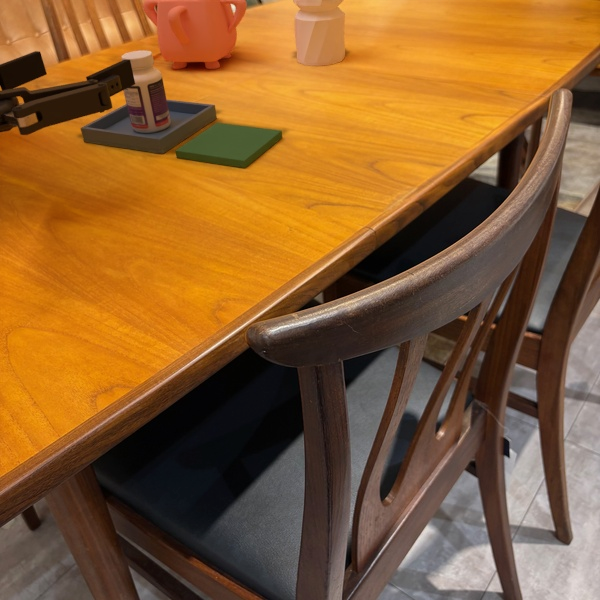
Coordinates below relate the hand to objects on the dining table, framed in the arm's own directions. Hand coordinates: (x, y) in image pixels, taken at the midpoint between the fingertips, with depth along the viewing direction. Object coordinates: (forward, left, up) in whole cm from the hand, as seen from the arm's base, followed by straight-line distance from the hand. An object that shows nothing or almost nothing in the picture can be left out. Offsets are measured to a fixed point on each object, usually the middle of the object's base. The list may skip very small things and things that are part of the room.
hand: (84, 67), depth 72 cm
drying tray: (0, +9, -11) cm, 15 cm away
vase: (+9, +47, -11) cm, 50 cm away
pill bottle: (0, +9, -11) cm, 14 cm away
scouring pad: (+14, +7, -11) cm, 20 cm away
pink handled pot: (-12, +41, -11) cm, 45 cm away
